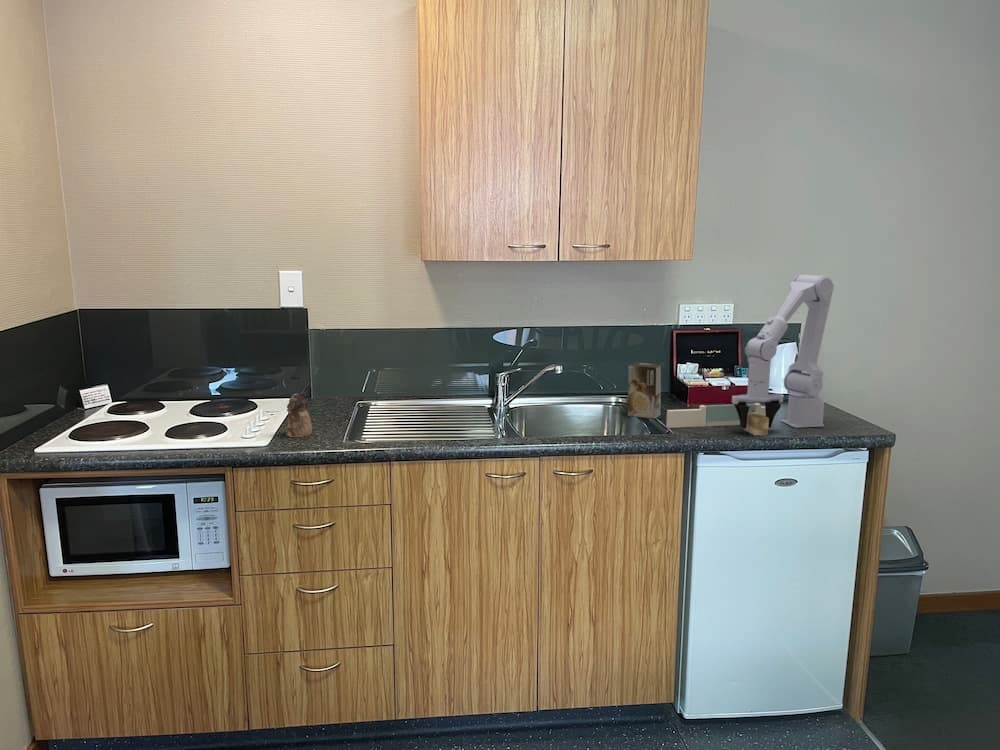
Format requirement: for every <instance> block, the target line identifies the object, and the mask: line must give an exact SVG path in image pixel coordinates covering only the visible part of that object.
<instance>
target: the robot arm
mask: <svg viewBox="0 0 1000 750" xmlns="http://www.w3.org/2000/svg"><path fill="white" fill-rule="evenodd" d="M834 287H835V285H834V283H833V281H832V278H830V276H828V275H815V274H813V275H812V274H804V273H797V275H795V276H794V277H793V279H792V281H791V282H790V284H789V293H788V295H787V297H786V298H785V300H784V301H783V303H782V305H781V307H780V309H779V310H778V312H777V314H776V315H773V316H770V317H769V318H767V320H766V322H765V324H764V325H763V327H762V328H761V329H760V331H759V332H758V334H757V336H756V337H753V338H751V339H749V341H748V342H747V344H746V345H745V346H746V347H744V353H745V355H746V356H747V363H748V372H747V373H748V374H747V375H748V376H747V378H748V379H747V393H746V394H739V395H731V403H732V404H734V406H735V408H736V410H737V413H738V415H739V419H740V425H739V426H740V428H742V429H743V430H744V429H746V427H747V415H748V411H749V408H750V407H749V406H747V404H754V403H759V404H760V403H764V406H765V411H766V416H765V417H767V418H769V426H768V429H769V428H772V424H773V422H774V419H775V416H776V415H777V413H778V411H779V410H780V409H781V406H782V404H781V403H783V402H784V395H783V394H779V393H775V394H774V393H769V392H770V378H771V376H770V373H771V360H772V359H773V358H774V357H775V356H776V354H777V349H778V348H777V347H778V346H779V341H780V340H781V339H782V337H783V336H784V334H785V333H786V331H787V330H788V327H789V325H788V322H789V320H790V319H791V318H792V316H793V315H794V314H795V313H796V312H797V310H798V309H799V308H800V307H801V305H802V304H803V303H804V304H805V305H806V307H807V308H808V310H807V316H806V319H805V324H804V328H803V333H802V338H801V342H800V348H799V350H798V356H797V360H796V361H795V362H793V363H791V364H790V365H789V366H788V370H787V373H786V374H785V376H784V378H783V386H784V389H786V390H787V391H786V393H787V394H788V406H787V407H788V408H787V419H781V422H782V423H784V424H787V426H790V427H792V428H797V429H798V428H817V427H819V428H820V427H825V424H824V414H825V413H824V412H825V401H824V398H823V397H822V396H821V395H820V393H821V392H822V390H823V385H824V384H823V376H824V375H823V374H824V371H823V370H822V369H821V368H820V367H819V365H818V364H817V363H818V360H819V356H820V355H819V354H820V350H821V347H822V342H823V338H824V337H823V336H824V332H825V328H826V324H827V319H828V315H829V311H830V305H831V302H832V301H831V300H832V297H833V291H834Z"/></svg>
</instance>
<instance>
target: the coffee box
mask: <svg viewBox="0 0 1000 750" xmlns="http://www.w3.org/2000/svg"><path fill="white" fill-rule="evenodd" d="M662 365H663V364H658V363H648V362H645V363H644V362H632V363H630V364H629V365H628V373H627V374H628V382H627V392H628V393H627V416H628V417H637V418H647V419H657V418H658V417H660V416H661V414H662V413H661V409H662V408H661V400H662V399H661V398H662V397H661V396H662V369H663V368H662Z"/></svg>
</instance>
